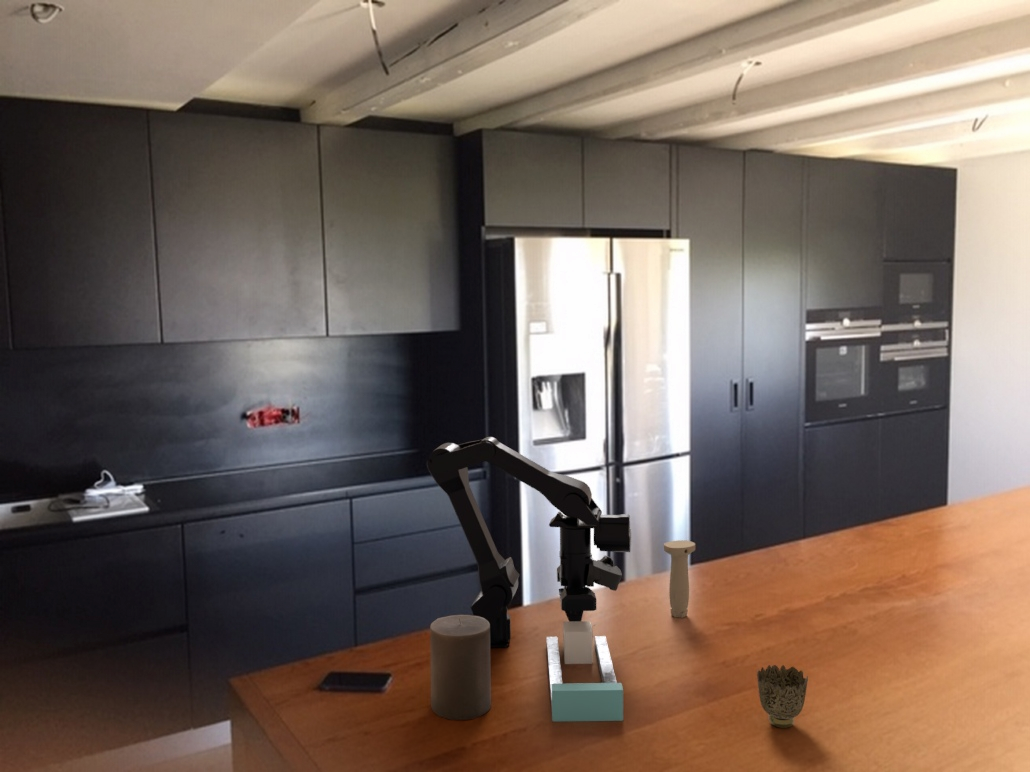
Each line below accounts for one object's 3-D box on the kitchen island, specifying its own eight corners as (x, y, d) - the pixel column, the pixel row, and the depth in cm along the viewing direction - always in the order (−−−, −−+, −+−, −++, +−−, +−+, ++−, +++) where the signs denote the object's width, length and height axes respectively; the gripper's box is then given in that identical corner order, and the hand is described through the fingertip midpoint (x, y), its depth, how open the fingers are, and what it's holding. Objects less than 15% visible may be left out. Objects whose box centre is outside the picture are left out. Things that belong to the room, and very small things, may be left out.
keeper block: (564, 664, 159) (564, 632, 158) (563, 652, 164) (563, 621, 163) (592, 664, 159) (592, 631, 158) (590, 652, 164) (590, 621, 163)
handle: (699, 617, 180) (699, 545, 178) (671, 622, 178) (672, 549, 176) (685, 609, 184) (686, 539, 183) (659, 613, 182) (659, 542, 180)
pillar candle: (468, 726, 137) (467, 632, 135) (418, 710, 142) (417, 620, 140) (502, 701, 145) (502, 613, 143) (454, 687, 150) (453, 602, 149)
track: (552, 721, 138) (552, 690, 137) (546, 646, 166) (546, 621, 166) (623, 720, 138) (623, 689, 137) (605, 646, 166) (605, 620, 166)
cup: (749, 713, 140) (750, 665, 139) (794, 711, 140) (795, 662, 139) (766, 737, 132) (767, 686, 131) (814, 734, 133) (815, 683, 132)
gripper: (625, 564, 155) (624, 650, 157) (613, 534, 174) (613, 611, 176) (561, 565, 155) (562, 651, 157) (556, 535, 174) (556, 612, 176)
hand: (575, 630), depth 166 cm, fingers closed
